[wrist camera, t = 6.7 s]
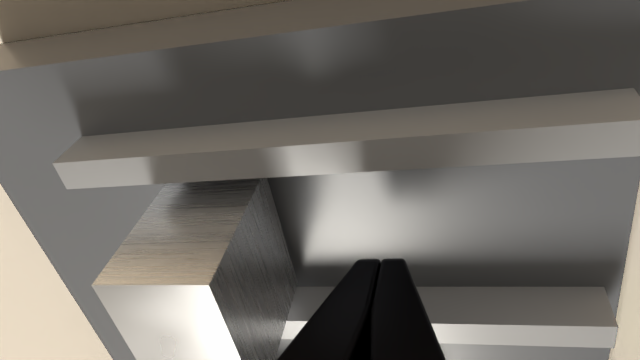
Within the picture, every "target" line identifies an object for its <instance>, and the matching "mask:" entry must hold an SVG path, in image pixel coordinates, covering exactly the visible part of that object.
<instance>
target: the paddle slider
mask: <svg viewBox="0 0 640 360" xmlns="http://www.w3.org/2000/svg"><path fill="white" fill-rule="evenodd" d="M297 284H298V280H297V277H296V273H295V270H294V267H293V263H292V260H291V257H290V253H289V250H288V247H287V243H286V240H285V237H284V233H283V230H282V227H281V223H280V220H279V216H278V213H277V210H276V206H275V203H274V200H273V196H272V193H271V190H270V186H269V183H268V180H267V178H254V179H237V180H220V181H202V182H185V183H168V184H165V185H164V187H163V188H162V189H161V191H160V192H159V194H158V195H157V196H156V198H155V199H154V200H153V202H152V203H151V204H150V206H149V207H148V209H147V210H146V211H145V213H144V214H143V215H142V217H141V218H140V220H139V221H138V222H137V224H136V225H135V226H134V228H133V229H132V230H131V232H130V233H129V235H128V236H127V237H126V239H125V240H124V241H123V243H122V244H121V246H120V247H119V248H118V250H117V251H116V252H115V254H114V255H113V256H112V258H111V259H110V261H109V262H108V263H107V265H106V266H105V267H104V269H103V270H102V271H101V273H100V274H99V276H98V277H97V278H96V280H95V281H94V282H93V284H92V287H93V289H94V290H95V292H96V294H97V295H98V297H99V299H100V300H101V302H102V304H103V305H104V307H105V309H106V310H107V312H108V314H109V315H110V317H111V319H112V320H113V322H114V324H115V325H116V327H117V328H118V330H119V332H120V333H121V335H122V337H123V338H124V340H125V342H126V343H127V345H128V347H129V348H130V350H131V352H132V353H133V355H134V357H135V358H136V360H275V358H276V354H277V351H278V348H279V344H280V341H281V338H282V334H283V331H284V328H285V324H286V321H287V318H288V314H289V311H290V308H291V304H292V301H293V298H294V294H295V291H296V287H297Z"/></svg>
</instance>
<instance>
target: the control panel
mask: <svg viewBox="0 0 640 360" xmlns="http://www.w3.org/2000/svg"><path fill="white" fill-rule="evenodd" d="M254 178H267V180H268V183H269V186H270V190H271V193H272V196H273V200H274V203H275V206H276V210H277V213H278V216H279V220H280V223H281V227H282V230H283V233H284V237H285V240H286V243H287V247H288V250H289V253H290V257H291V260H292V263H293V267H294V270H295V273H296V277H297V280H298V284H297V287H296V291H295V294H294V298H293V301H292V304H291V308H290V311H289V314H288V318H287V321H286V324H285V328H284V331H283V334H282V338H281V341H280V344H279V348H278V351H277V354H276V358H275V360H277V359H278V358H279V356H280V355H281V354H282V353H283V351H284V350H285V349H286V348H287V346H288V345H289V344H290V343H291V341H292V340H293V339H294V338H295V336H296V335H297V334H298V333H299V331H300V330H301V329H302V328H303V326H304V325H305V324H306V323H307V321H308V320H309V319H310V318H311V317H312V315H313V314H314V313H315V312H316V310H317V309H318V308H319V307H320V305H321V304H322V303H323V302H324V300H325V299H326V298H327V297H328V295H329V294H330V293H331V292H332V290H333V289H334V288H335V287H336V285H337V284H338V283H339V282H340V280H341V279H342V278H343V277H344V275H345V274H346V273H347V272H348V270H349V269H350V268H351V267H352V265H353V264H354V263H355V262H356V261H357V260H359V259H379V260H380V261H382V260H383V259H385V258H403V259H404V260H405V261H406V263H407V265H408V268H409V270H410V273H411V275H412V278H413V280H414V283H415V285H416V288H417V290H418V292H419V295H420V297H421V300H422V302H423V305H424V307H425V310H426V312H427V315H428V317H429V320H430V322H431V324H432V327H433V329H434V332H435V334H436V337H437V339H438V342H439V344H440V347H441V349H442V352H443V354H444V356H445V359H446V360H608V359H609V353H610V348H614V347H615V342H616V336H617V330H618V325H617V322H616V313H617V307H618V302H619V296H620V290H621V284H622V279H623V273H624V267H625V261H626V256H627V250H628V244H629V238H630V233H631V227H632V221H633V215H634V210H635V204H636V198H637V192H638V187H639V181H640V0H289V1H282V2H276V3H269V4H262V5H256V6H249V7H242V8H236V9H229V10H222V11H216V12H209V13H202V14H196V15H189V16H182V17H176V18H169V19H162V20H156V21H149V22H142V23H136V24H129V25H123V26H116V27H109V28H103V29H96V30H89V31H83V32H76V33H69V34H63V35H56V36H49V37H43V38H36V39H29V40H23V41H16V42H9V43H3V44H0V184H1V185H2V187H3V188H4V190H5V192H6V193H7V195H8V196H9V198H10V199H11V201H12V202H13V204H14V206H15V207H16V209H17V210H18V212H19V213H20V215H21V217H22V218H23V220H24V221H25V223H26V224H27V226H28V227H29V229H30V231H31V232H32V234H33V235H34V237H35V238H36V240H37V241H38V243H39V245H40V246H41V248H42V249H43V251H44V252H45V254H46V256H47V257H48V259H49V260H50V262H51V263H52V265H53V266H54V268H55V270H56V271H57V273H58V274H59V276H60V277H61V279H62V280H63V282H64V284H65V285H66V287H67V288H68V290H69V291H70V293H71V295H72V296H73V298H74V299H75V301H76V302H77V304H78V305H79V307H80V309H81V310H82V312H83V313H84V315H85V316H86V318H87V319H88V321H89V323H90V324H91V326H92V327H93V329H94V330H95V332H96V334H97V335H98V337H99V338H100V340H101V341H102V343H103V344H104V346H105V348H106V349H107V351H108V352H109V354H110V355H111V357H112V358H113V360H136V358H135V357H134V355H133V353H132V352H131V350H130V348H129V347H128V345H127V343H126V342H125V340H124V338H123V337H122V335H121V333H120V332H119V330H118V328H117V327H116V325H115V324H114V322H113V320H112V319H111V317H110V315H109V314H108V312H107V310H106V309H105V307H104V305H103V304H102V302H101V300H100V299H99V297H98V295H97V294H96V292H95V290H94V289H93V287H92V284H93V282H94V281H95V280H96V278H97V277H98V276H99V274H100V273H101V271H102V270H103V269H104V267H105V266H106V265H107V263H108V262H109V261H110V259H111V258H112V256H113V255H114V254H115V252H116V251H117V250H118V248H119V247H120V246H121V244H122V243H123V241H124V240H125V239H126V237H127V236H128V235H129V233H130V232H131V230H132V229H133V228H134V226H135V225H136V224H137V222H138V221H139V220H140V218H141V217H142V215H143V214H144V213H145V211H146V210H147V209H148V207H149V206H150V204H151V203H152V202H153V200H154V199H155V198H156V196H157V195H158V194H159V192H160V191H161V189H162V188H163V187H164V185H165V184H168V183H185V182H202V181H220V180H237V179H254Z"/></svg>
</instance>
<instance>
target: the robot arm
mask: <svg viewBox="0 0 640 360" xmlns="http://www.w3.org/2000/svg"><path fill="white" fill-rule="evenodd" d="M277 360H446V359H445V356H444V354H443V352H442V349H441V347H440V344H439V342H438V339H437V337H436V334H435V332H434V329H433V327H432V324H431V322H430V320H429V317H428V315H427V312H426V310H425V307H424V305H423V302H422V300H421V297H420V295H419V292H418V290H417V288H416V285H415V283H414V280H413V278H412V275H411V273H410V270H409V268H408V265H407V263H406V261H405V260H404V259H403V258H385V259H383V260H382V261H380V260H379V259H359V260H357V261H356V262H355V263H354V264H353V265H352V267H351V268H350V269H349V270H348V272H347V273H346V274H345V275H344V277H343V278H342V279H341V280H340V282H339V283H338V284H337V285H336V287H335V288H334V289H333V290H332V292H331V293H330V294H329V295H328V297H327V298H326V299H325V300H324V302H323V303H322V304H321V305H320V307H319V308H318V309H317V310H316V312H315V313H314V314H313V315H312V317H311V318H310V319H309V320H308V321H307V323H306V324H305V325H304V326H303V328H302V329H301V330H300V331H299V333H298V334H297V335H296V336H295V338H294V339H293V340H292V341H291V343H290V344H289V345H288V346H287V348H286V349H285V350H284V351H283V353H282V354H281V355H280V356H279V358H278V359H277Z"/></svg>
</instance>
